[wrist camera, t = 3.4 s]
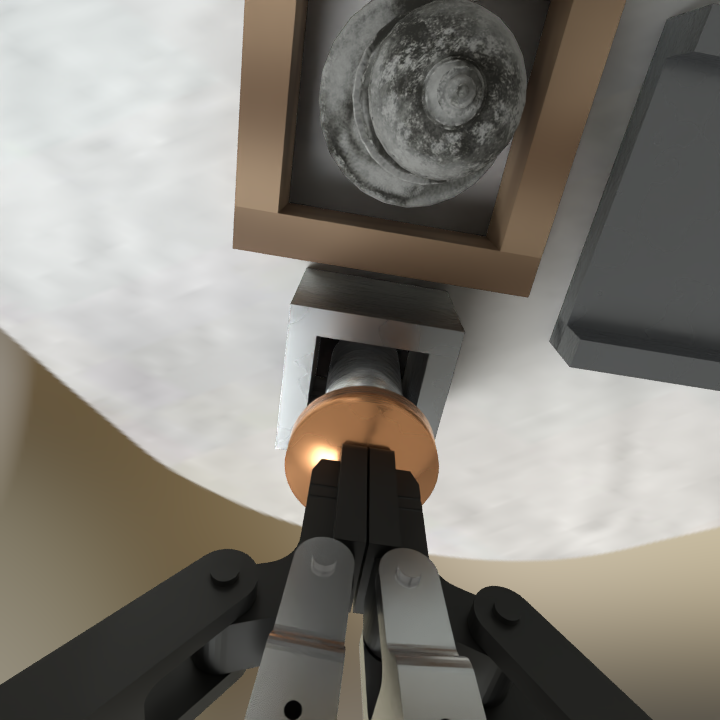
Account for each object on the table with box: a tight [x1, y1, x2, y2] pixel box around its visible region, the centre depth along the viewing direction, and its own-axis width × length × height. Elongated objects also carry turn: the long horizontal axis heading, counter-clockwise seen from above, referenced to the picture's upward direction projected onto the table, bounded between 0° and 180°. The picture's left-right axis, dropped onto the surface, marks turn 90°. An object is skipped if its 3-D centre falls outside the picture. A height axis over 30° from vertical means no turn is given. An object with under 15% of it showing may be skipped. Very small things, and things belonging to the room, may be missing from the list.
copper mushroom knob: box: [285, 340, 439, 507], centre depth 17 cm, size 4×4×7 cm
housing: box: [275, 268, 465, 450], centre depth 20 cm, size 6×6×4 cm
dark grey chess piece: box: [319, 0, 527, 207], centre depth 12 cm, size 6×6×12 cm
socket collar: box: [233, 0, 626, 297], centre depth 17 cm, size 11×11×2 cm
